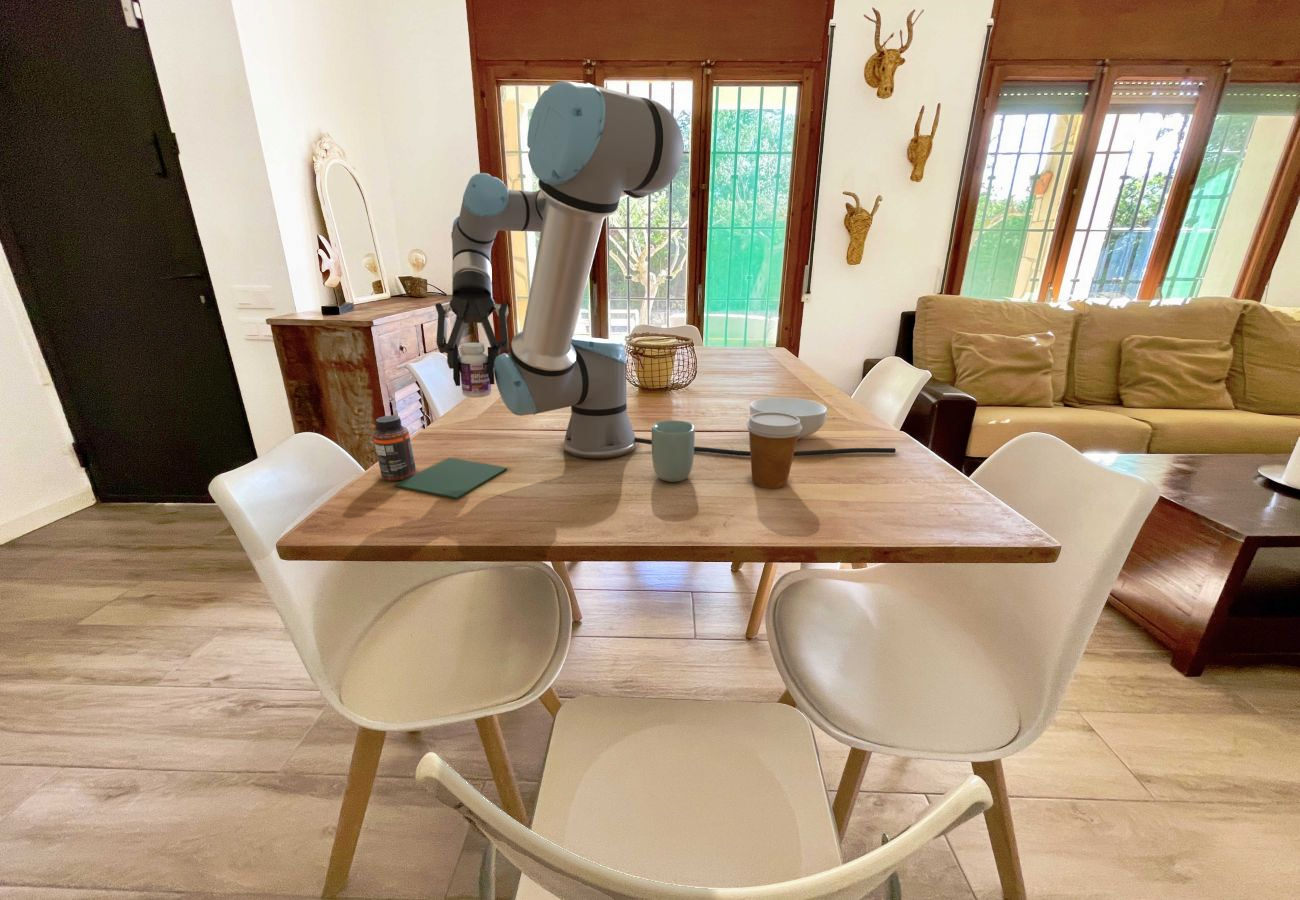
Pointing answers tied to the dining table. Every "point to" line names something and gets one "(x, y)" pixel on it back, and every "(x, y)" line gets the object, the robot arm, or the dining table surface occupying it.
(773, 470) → the disposable coffee cup
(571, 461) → the dining table surface
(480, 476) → the green mat
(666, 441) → the cup
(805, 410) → the cereal bowl
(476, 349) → the pill bottle
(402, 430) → the supplement bottle
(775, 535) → the dining table surface
